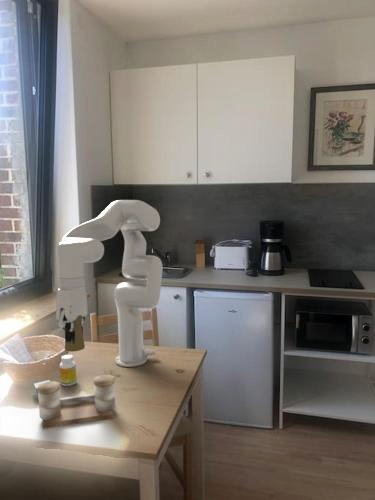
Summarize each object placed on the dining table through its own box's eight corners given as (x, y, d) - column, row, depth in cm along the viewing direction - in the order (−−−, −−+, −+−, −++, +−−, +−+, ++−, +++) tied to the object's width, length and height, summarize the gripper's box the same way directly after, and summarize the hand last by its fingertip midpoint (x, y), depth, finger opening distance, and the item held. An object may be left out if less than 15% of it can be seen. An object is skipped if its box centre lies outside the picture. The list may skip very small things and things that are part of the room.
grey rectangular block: (49, 391, 145) (49, 380, 144) (52, 396, 141) (51, 384, 141) (34, 394, 142) (33, 383, 142) (36, 399, 139) (36, 388, 138)
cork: (80, 342, 135) (79, 309, 134) (87, 348, 130) (86, 313, 129) (61, 346, 132) (60, 312, 130) (68, 352, 127) (66, 317, 125)
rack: (113, 401, 137) (112, 370, 135) (117, 417, 127) (116, 384, 126) (40, 411, 131) (38, 379, 130) (38, 429, 122) (36, 394, 120)
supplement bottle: (72, 387, 147) (70, 360, 146) (57, 385, 148) (56, 359, 147) (79, 380, 153) (77, 354, 151) (65, 378, 154) (63, 353, 152)
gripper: (77, 276, 137) (79, 331, 140) (43, 287, 122) (46, 349, 124) (97, 278, 135) (99, 334, 137) (65, 289, 119) (68, 352, 122)
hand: (74, 340), depth 131 cm, fingers closed on cork, 3 cm apart
